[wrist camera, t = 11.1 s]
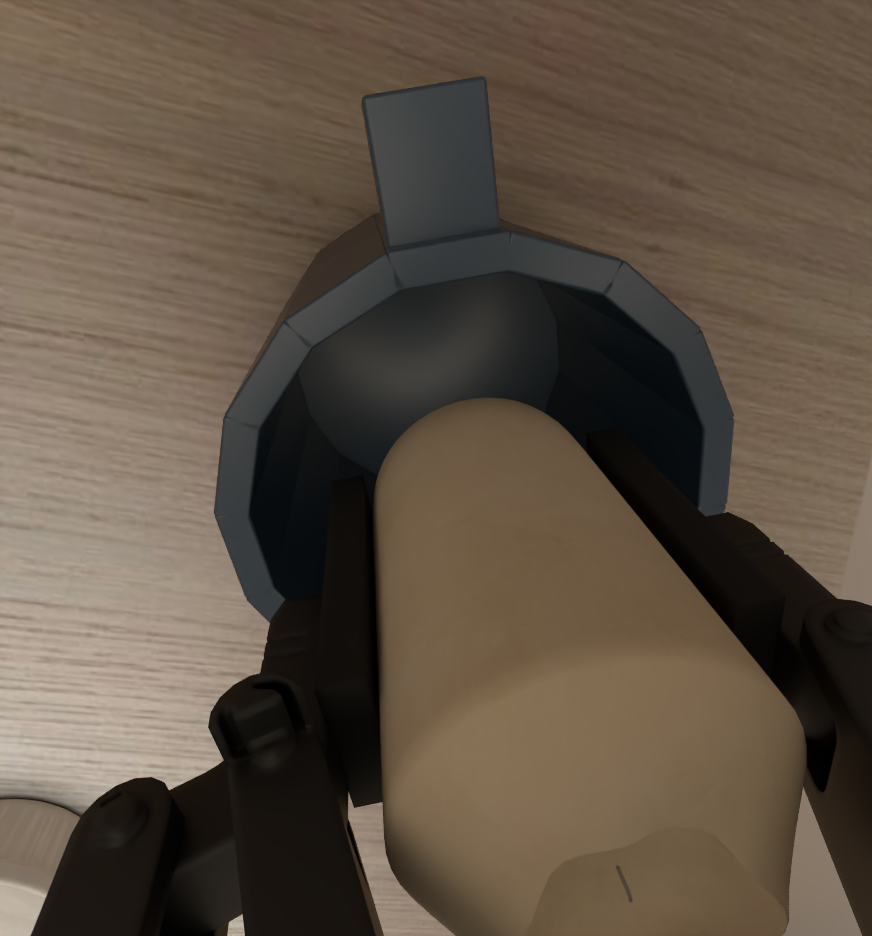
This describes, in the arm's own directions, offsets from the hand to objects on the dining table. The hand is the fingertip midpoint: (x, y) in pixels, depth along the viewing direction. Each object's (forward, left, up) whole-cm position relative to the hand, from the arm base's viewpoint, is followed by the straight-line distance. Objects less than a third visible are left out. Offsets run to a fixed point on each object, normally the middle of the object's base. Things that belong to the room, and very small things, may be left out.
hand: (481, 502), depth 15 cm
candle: (0, 0, -1) cm, 1 cm away
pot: (0, 0, -12) cm, 12 cm away
